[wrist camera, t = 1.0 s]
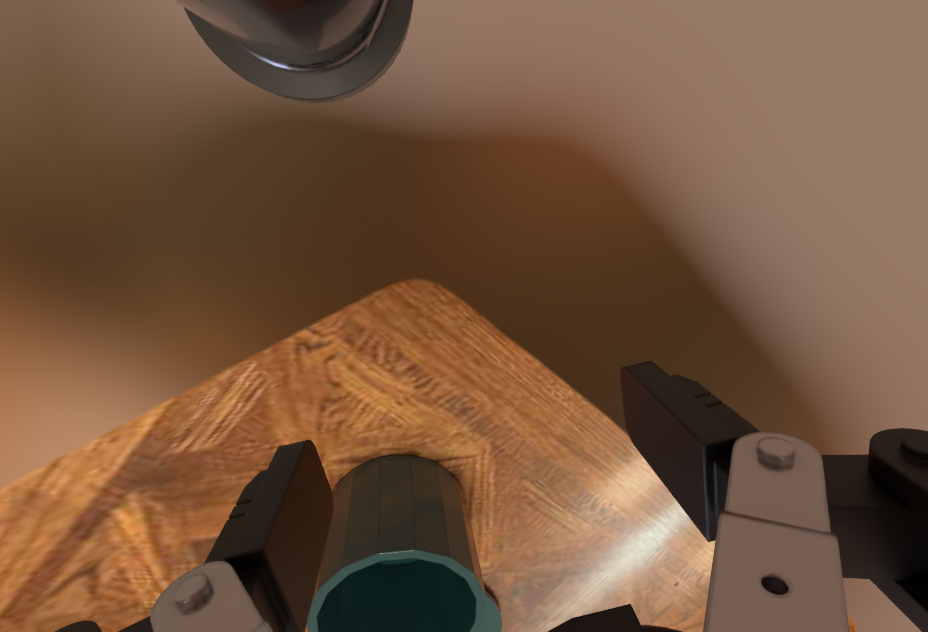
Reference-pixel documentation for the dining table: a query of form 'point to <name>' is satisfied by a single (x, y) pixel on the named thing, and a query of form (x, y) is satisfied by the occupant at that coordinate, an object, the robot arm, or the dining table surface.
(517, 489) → the dining table surface
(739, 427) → the robot arm
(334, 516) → the crock
